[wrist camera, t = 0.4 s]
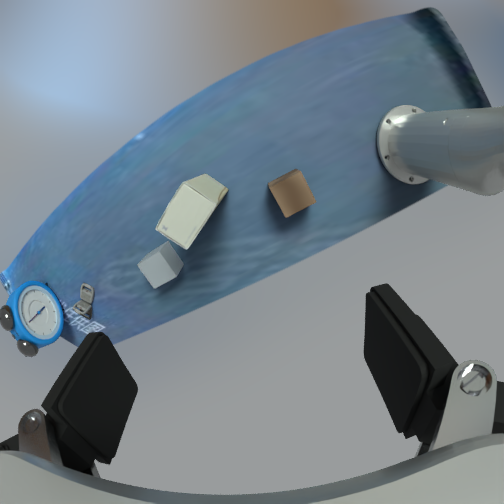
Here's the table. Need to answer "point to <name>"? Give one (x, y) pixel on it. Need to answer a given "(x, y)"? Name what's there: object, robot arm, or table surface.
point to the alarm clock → (32, 317)
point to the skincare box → (190, 209)
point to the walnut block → (292, 192)
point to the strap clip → (85, 301)
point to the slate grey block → (161, 265)
